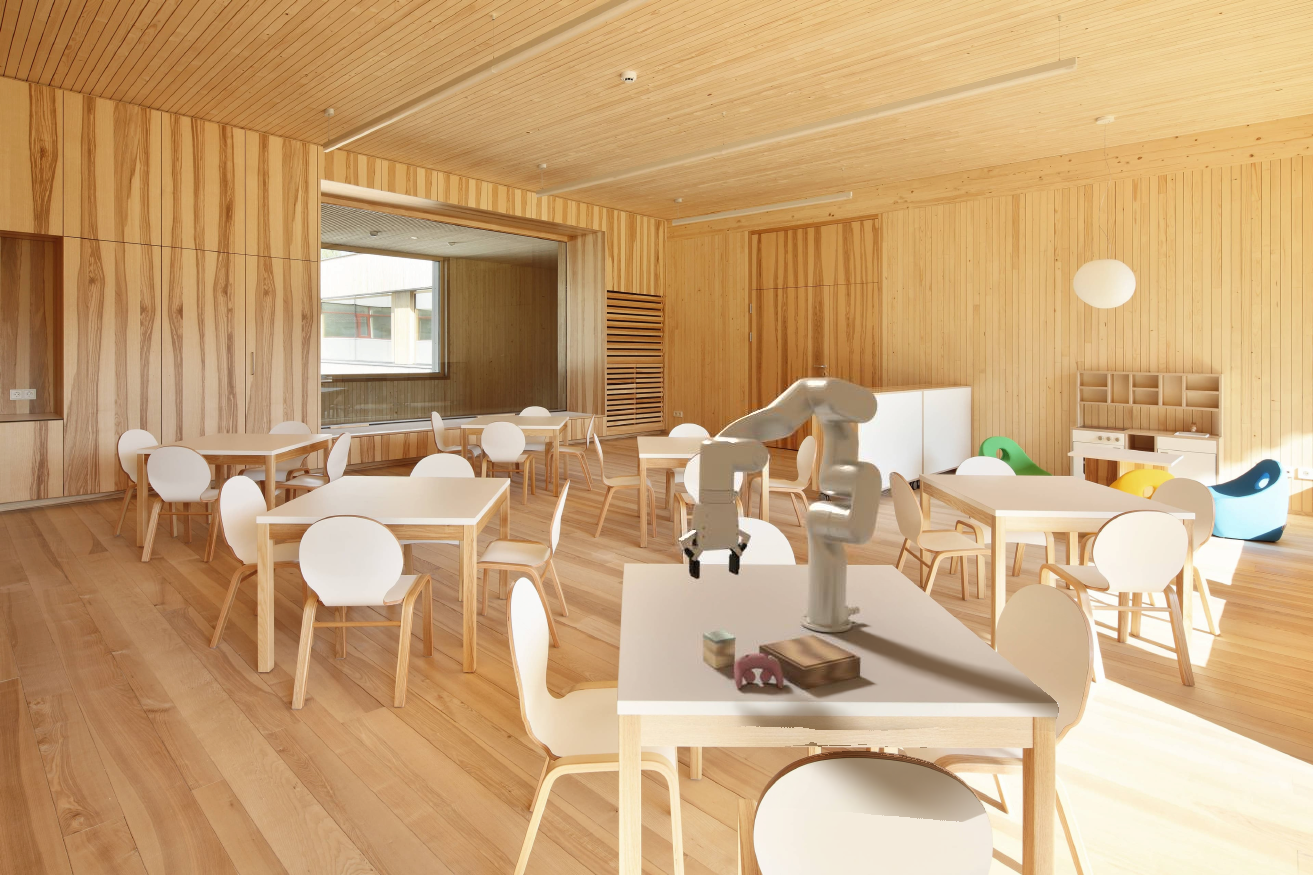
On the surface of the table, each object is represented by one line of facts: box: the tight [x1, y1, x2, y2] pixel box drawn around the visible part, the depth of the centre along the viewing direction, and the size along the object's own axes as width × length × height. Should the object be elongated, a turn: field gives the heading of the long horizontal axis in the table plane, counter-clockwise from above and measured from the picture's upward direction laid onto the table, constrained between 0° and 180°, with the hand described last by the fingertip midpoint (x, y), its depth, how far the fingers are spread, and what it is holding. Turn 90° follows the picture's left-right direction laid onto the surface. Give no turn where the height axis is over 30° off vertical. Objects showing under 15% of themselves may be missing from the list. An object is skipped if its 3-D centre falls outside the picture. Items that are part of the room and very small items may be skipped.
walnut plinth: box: [758, 634, 862, 690], centre depth 154 cm, size 15×15×4 cm
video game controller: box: [733, 653, 784, 690], centre depth 146 cm, size 10×5×7 cm, turn 92°
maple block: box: [702, 630, 736, 669], centre depth 157 cm, size 5×5×6 cm
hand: (714, 575), depth 156 cm, fingers open, 9 cm apart
